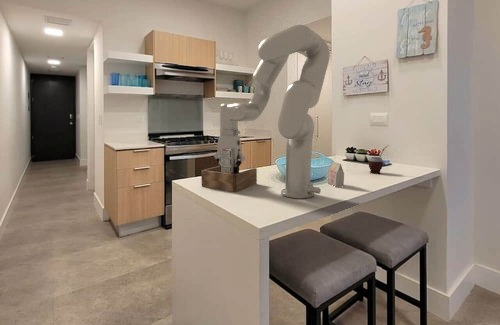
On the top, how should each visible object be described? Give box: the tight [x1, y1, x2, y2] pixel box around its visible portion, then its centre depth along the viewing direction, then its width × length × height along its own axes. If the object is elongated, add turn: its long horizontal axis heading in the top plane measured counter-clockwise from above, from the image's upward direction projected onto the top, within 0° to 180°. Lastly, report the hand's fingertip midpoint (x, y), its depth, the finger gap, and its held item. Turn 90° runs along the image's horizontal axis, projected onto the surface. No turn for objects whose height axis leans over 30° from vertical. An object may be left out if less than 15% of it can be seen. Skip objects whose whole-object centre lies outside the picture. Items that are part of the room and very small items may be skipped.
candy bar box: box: [220, 149, 235, 174], centre depth 132 cm, size 11×5×16 cm, turn 168°
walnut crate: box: [200, 165, 258, 193], centre depth 133 cm, size 17×17×7 cm
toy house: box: [327, 161, 345, 188], centre depth 133 cm, size 4×7×10 cm, turn 15°
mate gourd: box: [368, 144, 390, 175], centre depth 159 cm, size 8×8×15 cm
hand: (229, 174), depth 133 cm, fingers closed on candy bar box, 6 cm apart
